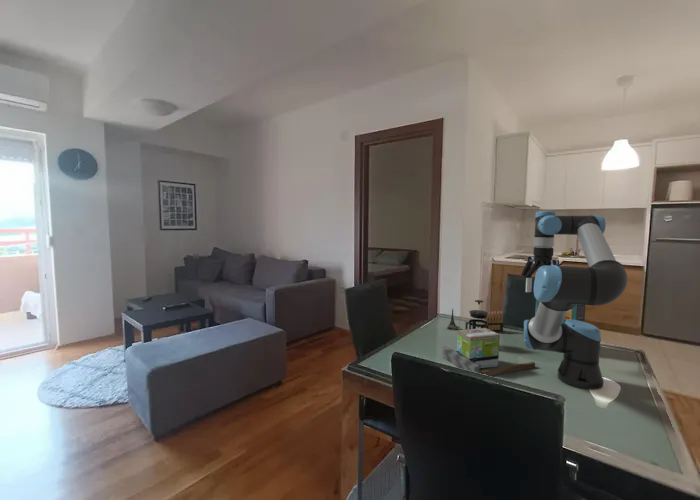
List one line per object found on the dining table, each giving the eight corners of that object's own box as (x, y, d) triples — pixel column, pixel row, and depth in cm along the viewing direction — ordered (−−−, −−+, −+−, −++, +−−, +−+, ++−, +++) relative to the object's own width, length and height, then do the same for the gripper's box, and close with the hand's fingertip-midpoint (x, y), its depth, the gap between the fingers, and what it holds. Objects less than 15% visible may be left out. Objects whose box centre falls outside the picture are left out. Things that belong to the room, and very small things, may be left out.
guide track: (534, 367, 148) (535, 356, 147) (474, 378, 138) (475, 366, 137) (497, 348, 169) (497, 338, 168) (442, 357, 159) (442, 346, 158)
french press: (483, 340, 179) (484, 298, 177) (492, 347, 170) (494, 302, 168) (461, 341, 178) (462, 298, 176) (469, 348, 169) (471, 303, 167)
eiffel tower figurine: (466, 333, 192) (467, 310, 191) (449, 334, 191) (449, 311, 190) (456, 325, 207) (457, 303, 206) (440, 325, 206) (440, 304, 205)
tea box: (469, 371, 144) (470, 337, 143) (455, 361, 154) (456, 329, 152) (499, 366, 148) (500, 333, 147) (483, 357, 158) (485, 326, 157)
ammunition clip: (501, 330, 196) (502, 310, 195) (503, 331, 194) (503, 310, 193) (483, 331, 195) (484, 310, 194) (485, 332, 193) (485, 311, 192)
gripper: (577, 249, 137) (574, 301, 139) (526, 244, 160) (524, 289, 162) (563, 249, 134) (560, 302, 136) (514, 245, 158) (512, 290, 160)
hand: (541, 295), depth 149 cm, fingers open, 13 cm apart
